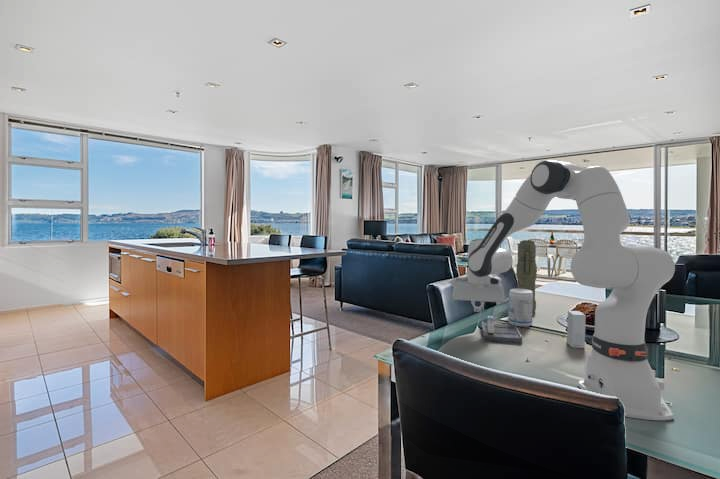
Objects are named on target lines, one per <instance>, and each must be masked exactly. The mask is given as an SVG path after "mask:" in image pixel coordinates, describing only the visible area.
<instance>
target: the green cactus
mask: <svg viewBox="0 0 720 479" xmlns="http://www.w3.org/2000/svg"><path fill="white" fill-rule="evenodd" d="M536 250H537V247H536V244H535V241H533V240H529V239H527V240H526V239H525V240H524V239H523V240H520V241H519V243H518V246H517V251H518V252H517V256H518V259H517V264H516V273H515V276H516V279H517V280H516V289H527V290H531V291H533V310H532V317H533V316H535V315H536V308H537V301H536V279H537V275H538V274H537V272H538V270H537V269H538V265H537V263H536V256H537V254H536Z"/></svg>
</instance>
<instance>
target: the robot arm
mask: <svg viewBox="0 0 720 479" xmlns="http://www.w3.org/2000/svg"><path fill="white" fill-rule="evenodd" d="M554 198H558V199H561V200H562V199H564V200H573V201H575V203H576V207H577V210H578V213H579V216H580V219H581V224H582V228H583V240H582V243H581V246H580V248H579V249H578V250H577V251H576V252H575V253H574V255H573V256H572V258H571V261H570V272H571V275H572V277H573V278H574V280H575V281H576V282H577V283H578V284H579V285H582V286H586V287H590V288H595V289H596V288H597V289H612V290H611V292H610V293H609V296H607V297H606V298H605V299H604V300H602V301H601V302H600V303H598V304H597V306H596V307H595V312H594V333H593V334H592V336H591V337H592V339H591V348H592V350H591V351H590V352H589V353H588V355H587V356H585V363H584V372H583V373H584V374H583V379H581V380H579V381H577V387H579V388H580V389H581V390H582V389H584V390H588V391H592V392H596V393H600V394H605V395H610V396H616V397H618V398H620V400H621V401H622V402H623V404H624V406H625V413H626V415H625V416H624V417H628V418H632V419H633V418H634V419H639V420H640V419H642V420H650V421H670V420H673V419H674V413H673V412H672V411H671V409H670V407H669V405H668V404H667V403H666V401H665V399H664V398H663V397H662V391H664V390H665V382H664V381H663V380H659V379H657V378H656V375H657V373H656V370H654V369H652V367H651V365H650V363H649V361H648V358H649V355H648V347H647V343H646V341H645V336H646V335H645V332H646V322H647V315H648V310H649V307H650V305H651V303H652V301H653V300H654V297H655V296H656V294H657V293H658V292H659V290H660V289H661V288H662V287H663V286H664V285H665V284H666V283H668V282H670V280H671V279H673V277H674V274H675V272H676V265H675V261H674V259H673V257H672V255H671V254H670V253H669V252H668V251H666V250H665V249H663V248H657V247H653V246H652V247H651V246H647V245H622V243H621V239H620V235H621V234H622V233H623V232H625V231H626V229H628V228H629V226H630V223H631V216H630V213H629V211H628V209H627V205H626V203H625V201H624V198H623V195H622V192H621V190H620V188H619V185H618V184H617V182H616V180H615V179H614V177H613V175H612V174H611V173H610V171H609V170H608V169H607V168H606V167H604V166H600V165H594V166H589V167H584V166H580V165H578V164H577V165H576V164H574V163H571V162H566V161H558V160H556V159H555V160H554V159H548V160H547V159H546V160H542V161H540V162H538V163H537V164H536V165H535V166H534V167H533V169H532V171H531V173H530V174H529V175H528V177H527V178H526V179H525V180H524V181H523V183H522V184H521V186H520V187H519V188H518V190H517V192H516V193H515V196H514V198H513V199H512V200H511V202H510V204H509V205H508V206H507V208H506V209H505V210H504V212H502V213H501V214H500V216H499V217H498V218H497V219H496V220H495V222H494V223H493V225H491V227H490V228H489V230H488V232H487V233H486V235H485V236H484V237H483V238H475V239H471V240H470V241H469V242H468V243H469V244H468V246H467V266H468V267H467V269H466V271H467V272H466V274H467V276H466V277H456V276H455V278H453V279H452V281H451V286H452V288H453V289H452V299H453V300H454V301H471V306H472V307H473V311H474V313H482V310H483V309H482V308H483V307H484V306H485V304H486V303H485V302H488V303H489V302H490V303H504V301H505V290H504V287H503V285H502V278H500V276H497V274H502V273H506V272H508V271H509V270H511V268H512V266H513V262H514V261H513V256H512V254H511V253H510V251H509V250H508V249H505V248H502V247H501V246H502V245H503V243H504V241H505V240H507V238H508V237H509V236H510V235H512V234H514V233H516V232H518V231H521V230H524V229H526V228H530V227H532V226H534V225H535V224H536V223H538V221H539V219H540V218H542V217H543V215H544V212H545V211H546V209H547V208H548V206H549V204H550V202H551V201H552V200H553V199H554ZM476 302H480V306H476V305H475V304H476Z"/></svg>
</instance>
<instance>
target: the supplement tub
mask: <svg viewBox="0 0 720 479" xmlns="http://www.w3.org/2000/svg"><path fill="white" fill-rule="evenodd" d="M532 310H533V291H531V290H527V289H517V288H511V289H509V294H508V316H507V319H508V320H507V321H508V324H511V325H513V323H515V325H516V326H517V327H525V328H526V327H530V326H531V325H532V324H533V316H532Z"/></svg>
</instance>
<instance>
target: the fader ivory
mask: <svg viewBox="0 0 720 479" xmlns="http://www.w3.org/2000/svg"><path fill="white" fill-rule="evenodd" d="M487 330H488V333H494V321H488V329H487Z"/></svg>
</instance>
